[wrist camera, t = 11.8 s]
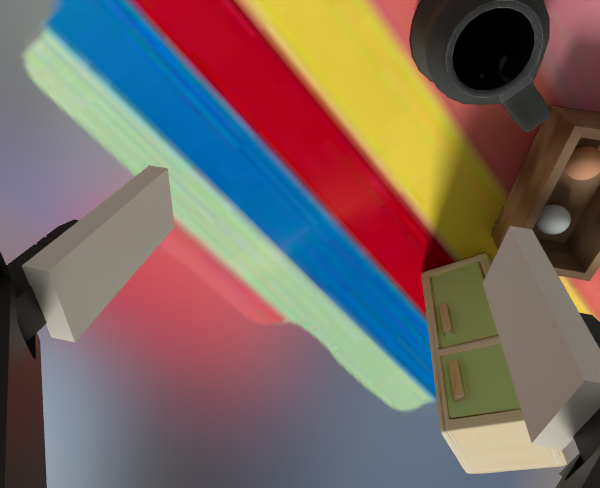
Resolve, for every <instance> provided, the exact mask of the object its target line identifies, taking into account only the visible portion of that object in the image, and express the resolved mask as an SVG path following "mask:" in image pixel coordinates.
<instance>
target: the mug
mask: <svg viewBox="0 0 600 488" xmlns="http://www.w3.org/2000/svg"><path fill="white" fill-rule="evenodd" d="M549 19H550V18H549V15H548V12H547V10H546V7H545V4H544V1H543V0H422V1H421V2H420V4H419V6H418V8H417V11H416V13H415V15H414V18H413V20H412V24H411V31H410V38H409V41H410V47H411V54H412V58H413V60H414V62H415V63H416V65H417V67H418V69H419V71H420V72H421V73H422V74H423V75H425V76H426V77H427V78H428V79H429V80H430V81H432V82H434V83H435V85H436V87H437V88H438V89H439V90H440V91H441V92H443V93H444V94H445V95H446V96H447V97H448V98H450V99H453V100H455V101H458V102H460V103H463V104H502V105H503V106H504V108H505V109H506V110H507V111H508V113H509V114H510V115H511V117H512V118H513V119H514V121H515V122H516V123H517V124H518V125H519V126H520V127H521V128H522V130H524V131H526V132H529V131H531V130H533V129H534V128H535V127H537V126H538V125H539V124H541V123H543V122H545V121H546V120H548V119H549V118H550V117H551V114H550V111H549V109H548V107H547V105H546V104H545V102H544V100H543V98H542V97H541V95H540V94H539V92H538V91H537V89H536V88H535V86H534V85H533V81H534V78H535V76H536V73H537V71H538V69H539V66H540V64H541V61H542V59H543V56H544V53H545V50H546V47H547V44H548V41H549Z"/></svg>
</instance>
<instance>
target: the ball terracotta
mask: <svg viewBox="0 0 600 488" xmlns="http://www.w3.org/2000/svg"><path fill="white" fill-rule="evenodd" d="M564 171H565V172H566V174H567V175H568V176H569V177H571V178H573V179H576V180H587V179H590V178H593V177H595V176H596V175H597V174H599V173H600V151H599V150H598V149H596V148H593V147H588V146H584V147H579V148H576V149H574V151H573V153H572V155H571V157H570V158H569V160H568V162H567V164H566V166H565V168H564Z"/></svg>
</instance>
